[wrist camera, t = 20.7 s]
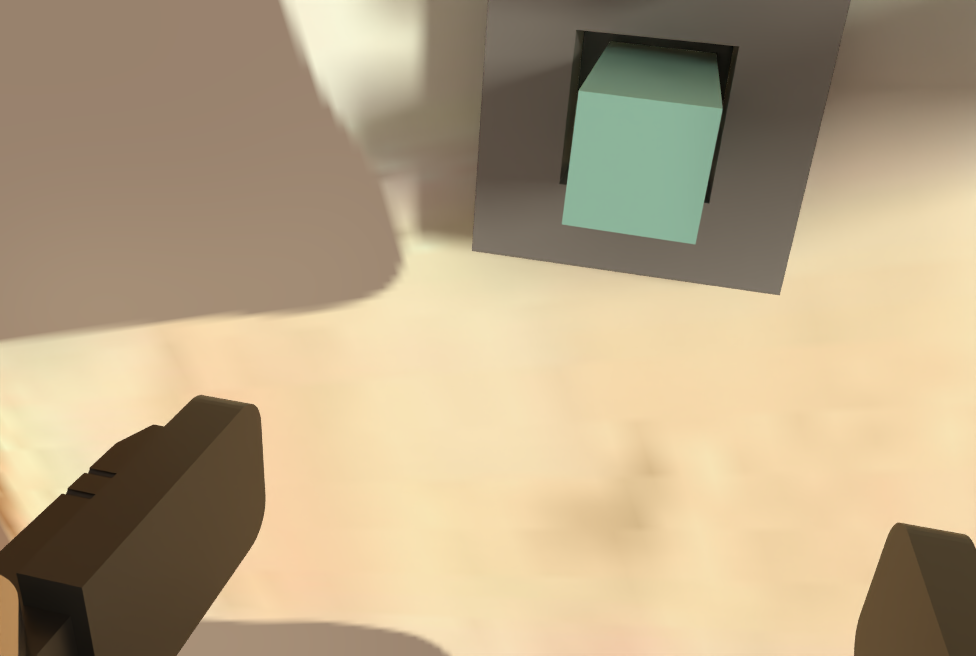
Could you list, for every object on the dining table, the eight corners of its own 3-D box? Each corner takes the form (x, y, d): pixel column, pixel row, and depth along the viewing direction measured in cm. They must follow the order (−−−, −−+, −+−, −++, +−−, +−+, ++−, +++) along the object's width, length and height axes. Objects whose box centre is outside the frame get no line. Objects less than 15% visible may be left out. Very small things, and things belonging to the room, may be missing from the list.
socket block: (773, 265, 36) (779, 295, 33) (487, 226, 38) (471, 250, 35) (895, -258, 28) (916, -274, 25) (524, -275, 30) (507, -292, 27)
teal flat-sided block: (696, 157, 35) (695, 244, 26) (595, 143, 35) (561, 224, 26) (716, 53, 33) (722, 108, 24) (610, 40, 33) (578, 90, 25)
